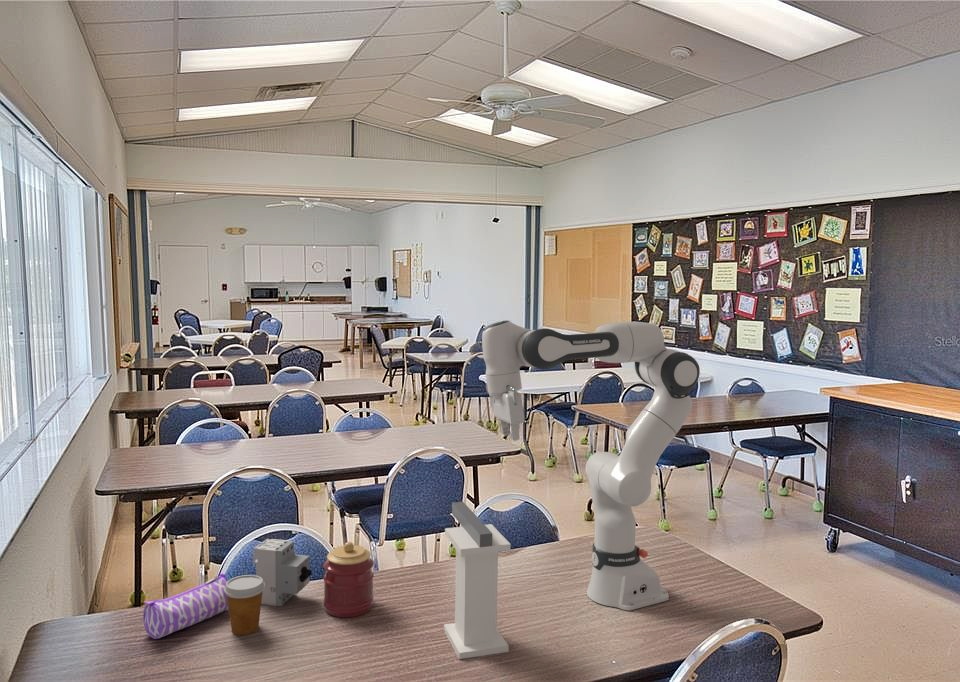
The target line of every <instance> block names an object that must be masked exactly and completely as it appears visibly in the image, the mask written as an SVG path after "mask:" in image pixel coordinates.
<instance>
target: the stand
mask: <svg viewBox="0 0 960 682" xmlns="http://www.w3.org/2000/svg"><path fill="white" fill-rule="evenodd" d="M484 525H485V526H486V527H487V528H488V529H489V530H490V531H491V532H492V546H488V547H479V546H478V545H477V543H476V542H475V541H474V540H473V539H472V537H471V536H470V535H469V534H468V533H467V531H466V530H465V529H464V528H463V527H462V526H456V527H455V526H454V527H447V528H444V535H445V537H446V538H447V539H448V540H449V542H450V543H451V545H452V546H453V547H454V548H455V588H454V589H455V590H454V591H455V593H454V594H455V596H454V597H455V600H454V602H455V605H454V606H455V607H454V623H452V622H451V623H444V624H443V631H445V632H444V634H445V635H446V638H447V639H448V641H449V642H451V643H450V645H451V644H452V645H451V646H452V648H453V650H454V652H455V654H456V656H457V658H458V659H459V660H463V659H464V660H465V659H469V658H476V657H483V656H490V655H495V654H502V653H509V650H510V649H509V648H510V647H509V644H508V643H507V641H506V640H505V639H504V637H503V635H502V634H501V632H500V631H499V629H498V628H497V626H498V625H497V624H498V620H497V619H498V581H499V580H498V576H499V575H498V574H499V570H498V569H499V568H498V565H499V552H500V553H501V552H509V551H511V549H512V548H511V545H512V544H511V543H510V542H509V541H508V540H507V539H506V538H505V536H504V535H502V533H500V531H499V530H497V528H496V526H494V525H493V524H492V523H488V524H484Z"/></svg>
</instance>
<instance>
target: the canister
mask: <svg viewBox="0 0 960 682" xmlns="http://www.w3.org/2000/svg"><path fill="white" fill-rule="evenodd" d="M326 559H327V560H326V561H325V562H324V564H323V569H324V570H325V573H324V576H323V581H324V582H323V583H324V586H323V589H324V591H323V593H324V594H323V595H324V596H323V597H324V598H323V606H324V610H325V612H326V613H327V614H328V615H331V616H333V617H337V618H353V617H358V616H361V615H364V614H366V613H367V612H369V611H370V610H371V609H372V608H373V603H374V576H375V575H374V572H373V571H372V570H373V569H372V568H373V567H374V564H375V563H374V560H373V559H372V557H371V552H370V551H369V550H368V549H366V548H365V547H363V546H360V545H355V544H354V543H353V542H351V541H347V542H345V544H343V545H341V546H337V547H335V548H334V549H332V550H331V551H330V552H328V553H327V555H326Z"/></svg>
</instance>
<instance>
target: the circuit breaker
mask: <svg viewBox="0 0 960 682" xmlns="http://www.w3.org/2000/svg"><path fill="white" fill-rule="evenodd" d="M252 564H253V565H255V568H256V569H255V575H256V576H259V577H261V578H262V579H263V582H264V584H265V587H264V589H263V593H262V601H261V605H268V606H276V607H282V606H283V605H285V603H286V602H287V601H289V599H291V598H292V597H293V596H294V595H298V594H299V593H300V592H301V591H302V590H303V589H304V588H305V587H306V586H307V585H308V584H309V583H311V581H310V579H311V577H310V576H312V574H313V573H312V569H310V555H305V554H296V553H295V541H294V540H288V539H278V538H277V539H275V538H271V539H270V538H266V539H265V540H263V541H262V542H261V543H259V544H258V545H256V546H255V547H253V553H252Z"/></svg>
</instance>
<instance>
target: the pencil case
mask: <svg viewBox="0 0 960 682" xmlns="http://www.w3.org/2000/svg"><path fill="white" fill-rule="evenodd" d="M226 578H227V575H226V573H223V572H222V573H221V572H220V573H219V576H218V575H216V576H214V578H211V579H210V580H208V581H206V582H204V583H202V584H200V585H197V586H195V587H193V588H190V589H188V590H186V591H183V592H179V593H178V594H175V595H172V596H169V597H167V598H166V597H165V598H163V599H155V600H151V601H149V600H148V601H146V600H145V601H143V603H145V604H146V605H145V607H144V609H143V616H142V618H143V627H144V630H145V632H146V633H147V635H148V636H150V637H151V638H152V639H154V640H158V639H161V638H164V637H165V636H168V635H170V634H172V633H174V632H175V633H176V632H177V631H180V630H183V629H185V628H187V627H190V626H193V625H195V624H197V623H198V624H199V623H200V622H202V621H205V620H207V619H210V618H212V617H214V616H217V615H218V614H221V613H223V612H225V611H227V610H229V609H228V603H227V596H226V594H225V592H224V588H225V587H226V583H227V582H228V580H226Z"/></svg>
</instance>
